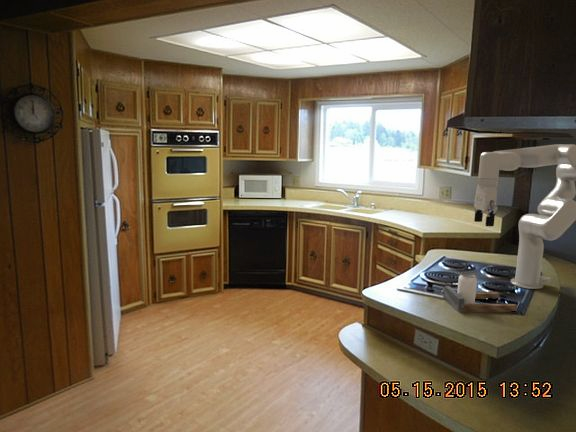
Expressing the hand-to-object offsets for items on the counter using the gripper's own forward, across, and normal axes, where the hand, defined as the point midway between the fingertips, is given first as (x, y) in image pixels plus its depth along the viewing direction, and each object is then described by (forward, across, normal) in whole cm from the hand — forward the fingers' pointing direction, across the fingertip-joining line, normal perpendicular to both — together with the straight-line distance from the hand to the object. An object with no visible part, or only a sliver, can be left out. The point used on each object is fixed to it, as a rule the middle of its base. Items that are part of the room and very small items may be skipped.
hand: (483, 223), depth 179 cm
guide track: (+28, +18, -8) cm, 34 cm away
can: (+28, +18, -13) cm, 36 cm away
